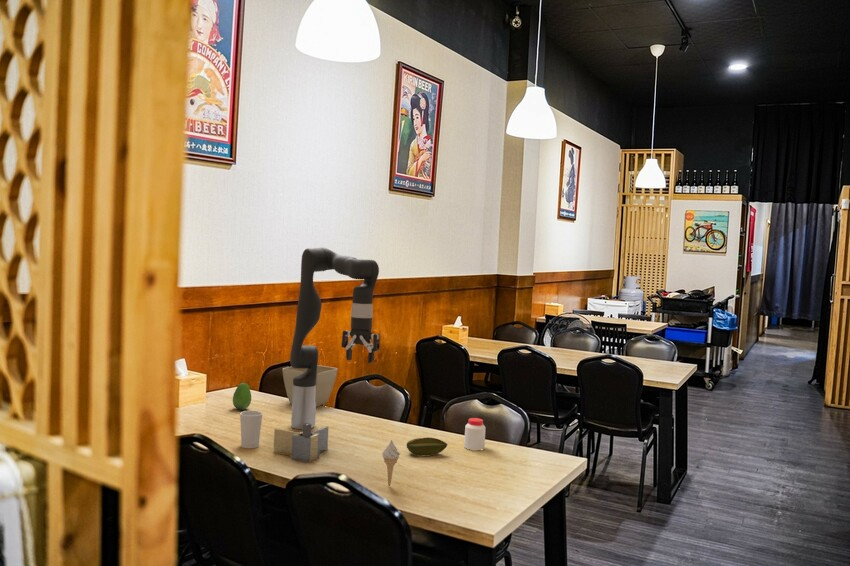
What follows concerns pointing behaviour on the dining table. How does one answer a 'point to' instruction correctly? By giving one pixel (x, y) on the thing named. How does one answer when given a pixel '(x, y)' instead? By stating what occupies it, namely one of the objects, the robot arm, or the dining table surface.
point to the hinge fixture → (301, 444)
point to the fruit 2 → (426, 446)
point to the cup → (250, 428)
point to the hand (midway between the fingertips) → (359, 361)
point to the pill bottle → (475, 434)
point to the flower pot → (323, 382)
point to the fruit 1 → (242, 396)
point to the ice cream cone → (390, 459)
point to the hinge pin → (306, 430)
